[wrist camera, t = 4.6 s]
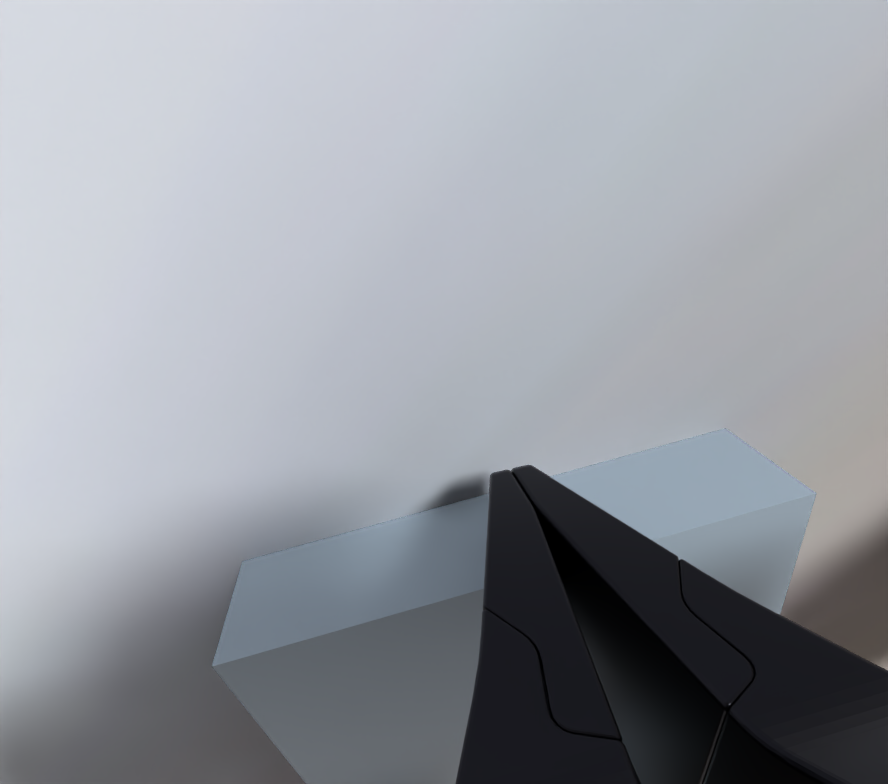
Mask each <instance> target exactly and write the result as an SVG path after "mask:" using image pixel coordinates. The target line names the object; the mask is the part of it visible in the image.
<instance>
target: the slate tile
mask: <svg viewBox="0 0 888 784" xmlns="http://www.w3.org/2000/svg"><path fill="white" fill-rule="evenodd" d="M550 477H551V478H553V479H554V480H556V481H558V482H559V483H561V484H562V485H564V486H566V487H567V488H569V489H571V490H572V491H574V492H575V493H577V494H579V495H580V496H582V497H583V498H585V499H587V500H588V501H590V502H591V503H593V504H595V505H596V506H598V507H599V508H601V509H603V510H604V511H606V512H608V513H609V514H611V515H612V516H614V517H616V518H617V519H619V520H620V521H622V522H624V523H625V524H627V525H628V526H630V527H632V528H633V529H635V530H637V531H638V532H640V533H641V534H643V535H645V536H646V537H648V538H649V539H651V540H653V541H654V542H656V543H657V544H659V545H661V546H662V547H664V548H665V549H667V550H669V551H670V552H672V553H674V554H675V555H677V556H678V558H679V560H680V559H683V560H685V561H687V562H688V563H690V564H692V565H693V566H695V567H696V568H698V569H700V570H701V571H703V572H704V573H706V574H708V575H710V576H711V577H713V578H715V579H716V580H718V581H720V582H721V583H723V584H725V585H726V586H728V587H730V588H731V589H733V590H735V591H737V592H738V593H740V594H742V595H744V596H746V597H748V598H750V599H751V600H753V601H755V602H757V603H759V604H761V605H762V606H764V607H766V608H768V609H770V610H772V611H773V612H775V613H777V614H779V615H780V613H781V610H782V607H783V603H784V600H785V597H786V593H787V590H788V587H789V583H790V580H791V577H792V573H793V570H794V567H795V564H796V560H797V557H798V554H799V550H800V547H801V544H802V540H803V537H804V534H805V530H806V527H807V524H808V520H809V517H810V514H811V510H812V507H813V504H814V501H815V497H816V494H817V493H816V492H814V491H813V490H811V489H810V488H809V487H807V486H806V485H804V484H803V483H802V482H800V481H799V480H797V479H796V478H795V477H793V476H792V475H790V474H789V473H788V472H786V471H785V470H783V469H782V468H781V467H779V466H778V465H776V464H775V463H774V462H772V461H771V460H769V459H768V458H767V457H765V456H764V455H762V454H761V453H760V452H758V451H757V450H755V449H754V448H753V447H751V446H750V445H748V444H747V443H746V442H744V441H743V440H741V439H740V438H739V437H737V436H736V435H734V434H733V433H732V432H730V431H729V430H727V429H726V428H725V429H721V430H718V431H714V432H710V433H707V434H703V435H699V436H696V437H692V438H688V439H685V440H681V441H678V442H674V443H670V444H667V445H663V446H659V447H656V448H652V449H648V450H645V451H641V452H638V453H634V454H630V455H627V456H623V457H619V458H616V459H612V460H609V461H605V462H601V463H598V464H594V465H590V466H587V467H583V468H579V469H576V470H572V471H569V472H565V473H561V474H558V475H554V476H550ZM488 504H489V494H485V495H481V496H478V497H474V498H470V499H467V500H463V501H459V502H456V503H452V504H449V505H445V506H441V507H438V508H434V509H430V510H427V511H423V512H420V513H416V514H412V515H409V516H405V517H401V518H398V519H394V520H390V521H387V522H383V523H380V524H376V525H372V526H369V527H365V528H361V529H358V530H354V531H350V532H347V533H343V534H340V535H336V536H332V537H329V538H325V539H321V540H318V541H314V542H310V543H307V544H303V545H300V546H296V547H292V548H289V549H285V550H281V551H278V552H274V553H270V554H267V555H263V556H260V557H256V558H252V559H249V560H245V561H242V564H241V568H240V571H239V575H238V578H237V582H236V585H235V588H234V592H233V595H232V599H231V602H230V606H229V609H228V612H227V616H226V619H225V623H224V626H223V629H222V633H221V636H220V640H219V643H218V647H217V650H216V653H215V657H214V660H213V664H212V668H213V669H214V670H215V671H216V673H217V674H218V675H219V676H220V678H221V679H222V680H223V681H224V683H225V684H226V685H227V686H228V688H229V689H230V690H231V691H232V693H233V694H234V695H235V696H236V697H237V699H238V700H239V701H240V702H241V704H242V705H243V706H244V707H245V709H246V710H247V711H248V712H249V714H250V715H251V716H252V717H253V719H254V720H255V721H256V722H257V724H258V725H259V726H260V727H261V729H262V730H263V731H264V732H265V734H266V735H267V736H268V737H269V738H270V740H271V741H272V742H273V743H274V745H275V746H276V747H277V748H278V750H279V751H280V752H281V753H282V755H283V756H284V757H285V758H286V760H287V761H288V762H289V763H290V765H291V766H292V767H293V768H294V770H295V771H296V772H297V773H298V775H299V776H300V777H301V778H302V780H303V781H304V782H305V783H306V784H455V783H456V778H457V773H458V768H459V763H460V758H461V753H462V747H463V742H464V737H465V732H466V727H467V722H468V717H469V712H470V707H471V702H472V697H473V691H474V685H475V678H476V672H477V666H478V658H479V648H480V637H481V623H482V611H483V592H484V575H485V557H486V540H487V522H488Z"/></svg>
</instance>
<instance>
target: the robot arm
mask: <svg viewBox="0 0 888 784" xmlns="http://www.w3.org/2000/svg"><path fill="white" fill-rule="evenodd" d="M455 784H888V670H886V669H884V668H881V667H879V666H877V665H875V664H873V663H871V662H870V661H868V660H866V659H864V658H862V657H860V656H858V655H856V654H854V653H852V652H850V651H848V650H846V649H845V648H843V647H841V646H839V645H837V644H835V643H833V642H831V641H829V640H827V639H825V638H823V637H821V636H820V635H818V634H816V633H814V632H812V631H810V630H808V629H806V628H804V627H802V626H800V625H798V624H796V623H795V622H793V621H791V620H789V619H787V618H785V617H783V616H781V615H779V614H777V613H775V612H773V611H772V610H770V609H768V608H766V607H764V606H762V605H761V604H759V603H757V602H755V601H753V600H751V599H750V598H748V597H746V596H744V595H742V594H740V593H738V592H737V591H735V590H733V589H731V588H730V587H728V586H726V585H725V584H723V583H721V582H720V581H718V580H716V579H715V578H713V577H711V576H710V575H708V574H706V573H704V572H703V571H701V570H700V569H698V568H696V567H695V566H693V565H692V564H690V563H688V562H687V561H685V560H683V559H680V560H679V558H678V556H677V555H675V554H674V553H672V552H670V551H669V550H667V549H665V548H664V547H662V546H661V545H659V544H657V543H656V542H654V541H653V540H651V539H649V538H648V537H646V536H645V535H643V534H641V533H640V532H638V531H637V530H635V529H633V528H632V527H630V526H628V525H627V524H625V523H624V522H622V521H620V520H619V519H617V518H616V517H614V516H612V515H611V514H609V513H608V512H606V511H604V510H603V509H601V508H599V507H598V506H596V505H595V504H593V503H591V502H590V501H588V500H587V499H585V498H583V497H582V496H580V495H579V494H577V493H575V492H574V491H572V490H571V489H569V488H567V487H566V486H564V485H562V484H561V483H559V482H558V481H556V480H554V479H553V478H551V477H550V476H548V475H546V474H545V473H543V472H542V471H540V470H538V469H537V468H535V467H534V466H531V465H525V466H520V467H516V468H513V469H512V470H511V471H510V470H503V471H499V472H494V473H492V474H491V475H490V487H489V504H488V522H487V540H486V557H485V575H484V592H483V611H482V623H481V637H480V648H479V658H478V666H477V672H476V678H475V685H474V691H473V697H472V702H471V707H470V712H469V717H468V722H467V727H466V732H465V737H464V742H463V747H462V753H461V758H460V763H459V768H458V773H457V778H456V783H455Z"/></svg>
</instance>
